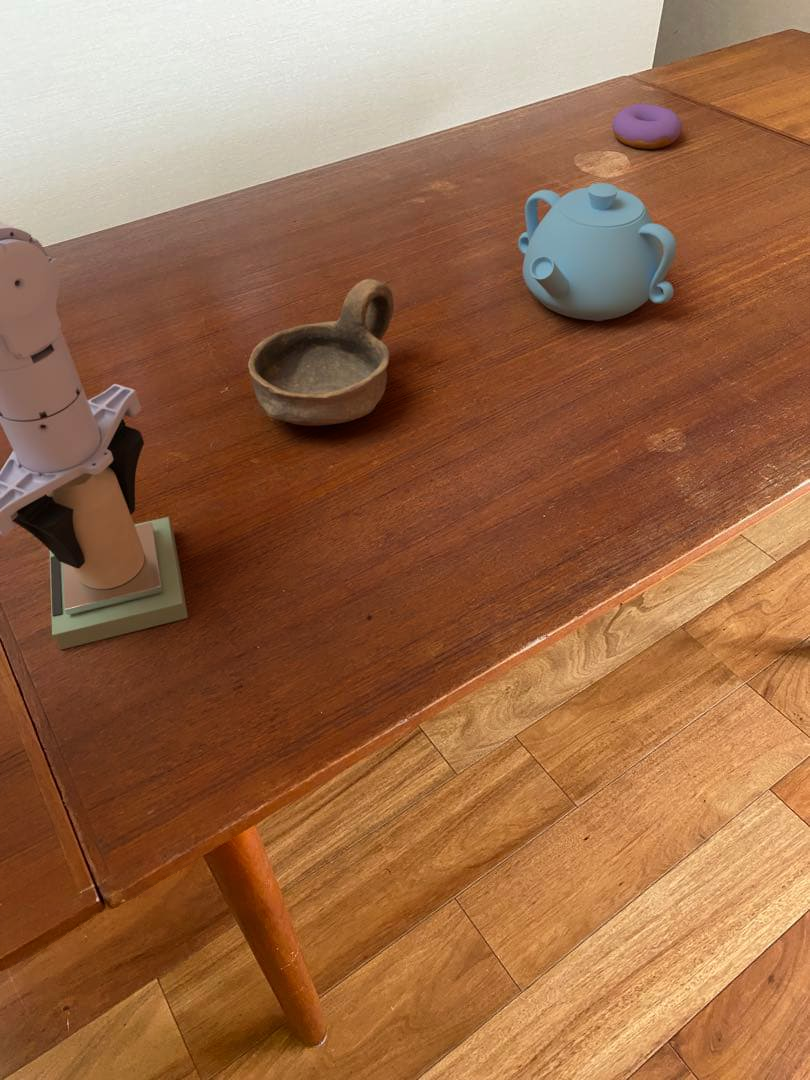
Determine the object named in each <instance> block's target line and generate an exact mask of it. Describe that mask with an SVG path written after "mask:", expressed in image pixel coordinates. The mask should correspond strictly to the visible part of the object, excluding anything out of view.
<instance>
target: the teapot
mask: <svg viewBox="0 0 810 1080" xmlns="http://www.w3.org/2000/svg"><path fill="white" fill-rule="evenodd" d="M539 201H542V202H545V203H546V204H548V205H549V206H550V207H551V208H550V209H549V210H548V212H547V213H546V214H545V216H544V217H543V218H542V220H540V221H539V213H538V204H539ZM649 213H650V212H649V211H648V209H647V208H646V206H645V203H643V201H642V200H640V199H639V198H638V196H636V195H634V194H633V193H630V192H628V191H625V190H622V189H619V188H618V187H617V186H616V185H614V184H611V183H607V182H596V183H593V184H590V185H589V186H588V187H581V188H576V189H574V190H571V191H569V192H567V193H566V194H564V195H563V196H560V195H559V194H558V193H557V192H555V191H553V190H550V189H541V190H538V191H535V192H534V193H532V194H531V195H530V196H529V197H528V198H527V200H526V203H525V207H524V220H525V227H526V231H524V232H523V233H521V234H520V235H519V238H518V240H517V247H518V249H519V251H520V252H521V253H522V254H523V255H524V258H523V263H522V277H523V280H524V283H525V285H526V287H527V288H528V290H529V291H530V292H531V293H532V295H533V297H535V298H536V299H537V300H538V302H540V303H541V304H542V305H543V306H545V308H547V309H549V310H550V311H553V312H555V313H556V314H559V315H562V316H564V317H568V318H572V319H577V320H586V321H594V322H602V321H605V320H613V319H616V318H620V317H623V316H626V315H628V314H630V313H632V312H634V311H636V310H637V309H638V308H640V307H641V306H642V305H644V304H646V303H647V302H649V300H650V301H651V302H652V303H653V304H660V305H661V304H666V303H668V302H669V301H671V300H672V297H674V287H673V285H672V283H670V281H667V280H664V279H665V278H666V276H667V273H668V272H669V270H670V268H671V266H672V264H673V262H674V260H675V257H676V253H677V240H676V238H675V236H674V234H672V232H671V231H670V230H669V229H668V228H667V227H665V226H664V225H661V224H659V223H654V221H653V219H652V217H651V215H650V214H649ZM661 290H662V291H661Z"/></svg>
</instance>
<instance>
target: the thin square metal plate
mask: <svg viewBox="0 0 810 1080" xmlns="http://www.w3.org/2000/svg"><path fill="white" fill-rule="evenodd" d="M135 528H136V531H137V533H138V536H139V539H140V541H141V544H142V547H143V550H144V563H143V566H142V568H141V570H140V571H139V572H138V574H137V575H136V576H135V577H133V578H132V579H131V580H129V581H128V582H126V583H124V584H122V585H120V586H117V587H114V588H109V589H95V588H91V587H88V586H86V585H84V584H83V583H82V582H81V581H80V580H79V579H78V577H77V576H76V574H75V572H74V570H73V568H72V566H70V565H67V564H65V563H63V584H64V606H65V612H66V613H67V615H70V614H75V613H79V612H83V611H87V610H91V609H95V608H99V607H103V606H107V605H111V604H115V603H120V602H124V601H128V600H132V599H136V598H140V597H144V596H148V595H152V594H156V593H161V592H163V587H162V580H161V573H160V566H159V559H158V553H157V546H156V539H155V532H154V527H153V524H152V523H147V524H143V525H138V526H135Z"/></svg>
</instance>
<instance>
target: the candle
mask: <svg viewBox="0 0 810 1080" xmlns="http://www.w3.org/2000/svg"><path fill="white" fill-rule="evenodd" d="M46 495H47V496H49V497H53V499H54V502H56V503H58V504H61V505H64V506H66V507H69V508H72V509H74V510H73V526H74V532H75V536H76V539H77V541H78V543H79V545H80V548H81V550H82V552H83V555H84V560H85V563H84V564H83V565H82V566H81V567H80V568H78V569H77V568H75V567H72V568H73V570H74V572H75V574H76V576H77V577H78V579H79V580H80V581H81V582H82V583H83V584H84V585H86V586H88V587H91V588H95V589H109V588H114V587H117V586H120V585H122V584H124V583H126V582H128V581H129V580H131V579H132V578H133V577H135V576H136V575H137V574H138V572H139V571H140V570H141V568H142V566H143V563H144V550H143V547H142V544H141V541H140V539H139V536H138V533H137V531H136V528H135V526H134V525H135V523H134V520H133V518H132V514H131V515H130V512H129V510H128V507H127V504H126V502H125V499H124V496H123V494H122V491H121V488H120V486H119V483H118V480H117V478H116V475H115V473H114V472H113V470H112V469H111V468H109V467H108V466H107V467H106V468H105V469H104V470H103V471H102V472H101V473H100V474H97V475H91V474H88V473H84V474H82V475H80V476H79V477H77V478H75V479H73V480H71V481H69V482H68V483H66V484H64V485H62V486H60V487H59V488H57V489H55V490H53V491H51V492H49V493H48V494H46Z"/></svg>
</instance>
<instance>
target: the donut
mask: <svg viewBox="0 0 810 1080" xmlns="http://www.w3.org/2000/svg"><path fill="white" fill-rule="evenodd" d="M611 125H612V126H611V128H612V132H613V135H614V137H615V138H616V139H617V140H618V141H619V142H621V143H622V144H623V145H626V146H629V147H632V148H638V149H645V150H651V149H653V150H654V149H661V148H665V147H666V146H669V145H670V144H673V143H674V142H675V141H676V140H677V139H678V137H679V136H680V134H681V133H682V122H681V119H680V117H679V115H677V113H675V112H674V111H673V110H671V109H669V108H666V107H663V106H661V105H657V104H652V103H636V104H631V105H629V106H626V107H625V108H623V109H621V110H619V111H618V112H617V113H616V114H615V116H614V118H613V120H612V123H611Z"/></svg>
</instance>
